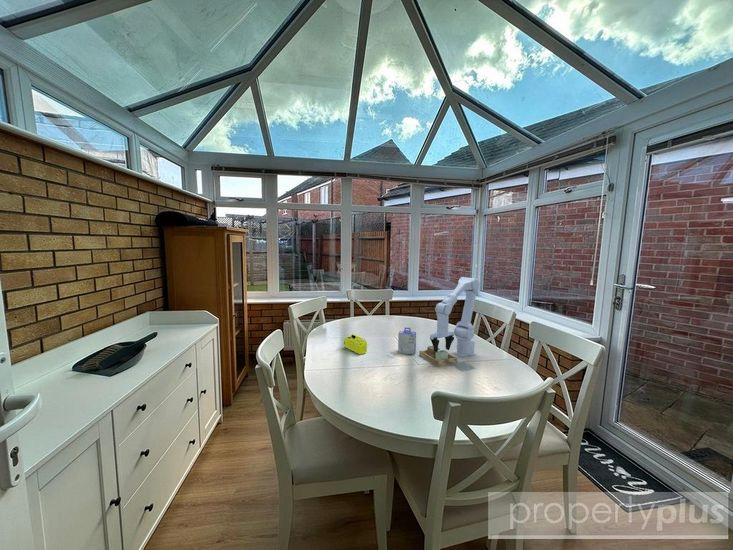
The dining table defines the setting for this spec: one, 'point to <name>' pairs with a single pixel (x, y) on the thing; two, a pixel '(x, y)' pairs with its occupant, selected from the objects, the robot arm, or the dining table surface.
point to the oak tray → (450, 360)
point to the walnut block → (431, 351)
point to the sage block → (441, 355)
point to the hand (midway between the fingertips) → (441, 350)
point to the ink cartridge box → (407, 341)
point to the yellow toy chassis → (356, 344)
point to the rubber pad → (463, 366)
